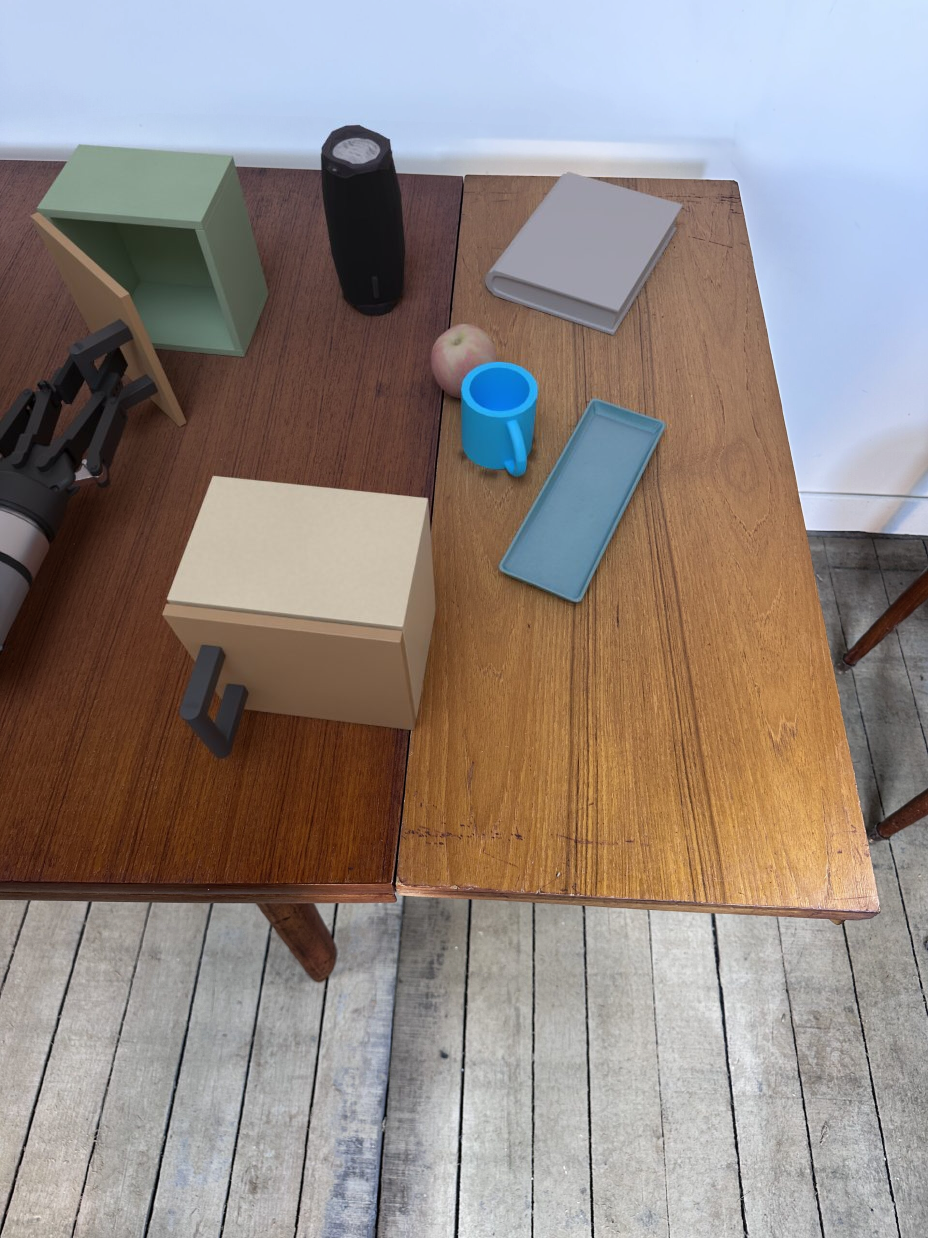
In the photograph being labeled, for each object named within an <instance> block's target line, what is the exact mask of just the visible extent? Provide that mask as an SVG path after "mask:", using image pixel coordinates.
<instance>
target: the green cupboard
mask: <svg viewBox="0 0 928 1238" xmlns="http://www.w3.org/2000/svg"><path fill="white" fill-rule="evenodd" d="M36 211H37V212H39V213H40V214H41V215H42V216H44V217H45V218H46V219H47V220H48V221H49V222H50V223H51V224H52V225H54V226H55V227H56V228H57V229H58V230H59V231H60V232H61V233H62V234H64V235H65V236H66V237H67V238H68V239H69V240H70V241H71V242H73V243H74V244H75V245H76V246H77V247H78V248H79V249H80V250H81V251H83V252H84V253H85V254H86V255H87V256H88V257H89V258H90V259H91V260H93V261H94V262H95V263H96V264H97V265H98V266H99V267H100V268H101V269H103V270H104V271H105V272H106V273H107V274H108V275H109V276H110V277H112V278H113V279H114V280H115V281H116V282H117V283H118V284H119V285H120V286H122V287H123V288H124V289H125V290H126V291H127V292H128V293H129V294H130V296H131V299H132V301H133V303H134V305H135V307H136V310H137V312H138V314H139V316H140V319H141V321H142V323H143V325H144V328H145V330H146V332H147V334H148V337H149V339H150V341H151V343H152V346H153V348H154V350H162V351H163V350H165V351H176V352H186V353H194V354H195V353H196V354H208V355H216V356H229V357H239V358H245V356H246V354H247V352H248V349H249V347H250V344H251V342H252V338H253V336H254V333H255V331H256V329H257V326H258V324H259V320H260V318H261V316H262V314H263V313H262V312H263V310H264V307H265V305H266V302H267V300H268V297H269V295H270V293H269V289H268V286H267V282H266V278H265V274H264V270H263V266H262V262H261V259H260V254H259V251H258V247H257V243H256V239H255V235H254V231H253V228H252V224H251V221H250V220H251V219H250V216H249V213H248V209H247V205H246V201H245V197H244V194H243V190H242V186H241V181H240V179H239V175H238V171H237V166H236V163H235V159H234V156H233V155H225V154H214V153H200V152H188V151H186V152H185V151H176V150H175V151H174V150H173V151H172V150H162V149H161V150H160V149H146V148H135V147H134V148H133V147H120V146H106V145H93V144H81V143H79V144H78V145H77V146H76V148H75V150H74V151H73V152H72V154H71V156H70V157H69V158H68V160H67V161H66V163H65V164H64V166H63V168H62V169H61V170H60V172H59V173H58V175H57V176H56V178H55V179H54V181H53V182H52V184H51V186H50V187H49V189H48V190H47V191H46V193H45V195H44V196H43V198H42V199H41V200H40V202H39V204H38V205H37V206H36Z"/></svg>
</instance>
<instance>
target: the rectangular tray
mask: <svg viewBox="0 0 928 1238" xmlns="http://www.w3.org/2000/svg"><path fill="white" fill-rule="evenodd" d="M666 427H667V425H666V422H665V421H663V420H661V419H658V418H655V417H652V416H649V415H646V414H642V413H640V412H637V411H634V410H631V409H628V408H626V407H622V406H620V405H616V404H613V403H611V402H607V401H605V400H602V399H599V398H595V397H594V398H591V399H590V400H589V402H588V404H587V407H586V408H585V410H584V412H583V413H582V415H581V417H580V419H579V421H578V423H577V424H576V426H575V428H574V429H573V431H572V433H571V436H569V439H568V441H567V442H566V444H565V446H564V448H563V450H562V451H561V454H560V455H559V457H558V459H557V460H556V462H555V464H554V466H553V468H552V470H551V471H550V473H549V475H548V477H547V478H546V480H545V482H544V484H543V486H542V487H541V489H540V491H539V492H538V494H537V497H536V498H535V499H534V502H533V503H532V505H531V507H530V508H529V510H528V512H527V514H526V516H525V517H524V519H523V521H522V523H521V525H520V526H519V528H518V530H517V532H516V534H515V535H514V537H513V539H512V541H511V542H510V544H509V546H508V548H507V550H506V551H505V553H504V555H503V557H502V559H501V560H500V562H499V563H498V570H499V571H500V572H501V573H503V574H504V575H506V576H507V577H510V578H512V579H514V580H516V581H518V582H519V581H520V582H522V583H524V584H527V585H529V586H531V587H533V588H536V589H538V590H541V591H543V592H545V593H548V594H550V595H553V596H555V597H558V598H560V599H562V600H564V601H567V602H570V603H575V604H576V603H580V602H582V600H583V598H584V596H585V594H586V592H587V590H588V588H589V585H590V583H591V581H592V578H593V577H594V574H595V572H596V570H597V568H598V566H599V564H600V562H601V560H602V558H603V557H604V554H605V552H606V549H607V547H608V546H609V543H610V541H611V539H612V537H613V535H614V533H615V531H616V529H617V527H618V525H619V523H620V522H621V519H622V516H623V515H624V513H625V511H626V509H627V506H628V504H629V503H630V501H631V498H632V496H633V494H634V492H635V490H636V488H637V486H638V484H639V482H640V479H641V477H642V476H643V474H644V471H645V469H646V468H647V465H648V463H649V461H650V459H651V457H652V455H653V453H654V451H655V449H656V447H657V446H658V443H659V441H660V439H661V437H662V435H663V433H664V432H665V430H666Z"/></svg>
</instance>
